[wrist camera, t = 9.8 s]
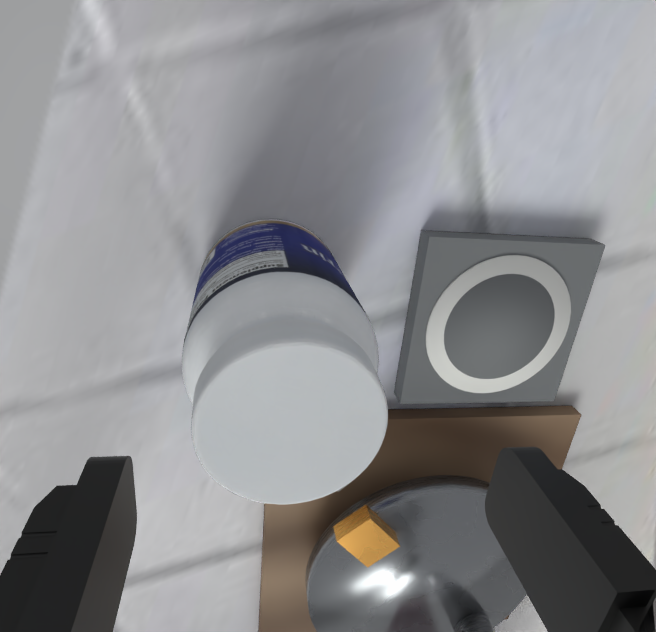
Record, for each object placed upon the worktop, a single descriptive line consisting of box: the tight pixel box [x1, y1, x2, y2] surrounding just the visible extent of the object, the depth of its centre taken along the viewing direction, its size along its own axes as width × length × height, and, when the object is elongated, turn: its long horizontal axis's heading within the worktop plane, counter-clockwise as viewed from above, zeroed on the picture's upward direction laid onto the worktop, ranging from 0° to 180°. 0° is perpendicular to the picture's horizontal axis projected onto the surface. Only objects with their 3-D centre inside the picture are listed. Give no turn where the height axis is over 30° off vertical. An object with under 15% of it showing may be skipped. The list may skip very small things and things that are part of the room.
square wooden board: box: [258, 406, 581, 632], centre depth 27 cm, size 16×16×2 cm
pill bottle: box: [182, 219, 388, 505], centre depth 16 cm, size 6×6×10 cm
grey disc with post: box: [305, 475, 527, 632], centre depth 23 cm, size 13×12×6 cm
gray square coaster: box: [394, 230, 605, 404], centre depth 22 cm, size 8×8×1 cm
